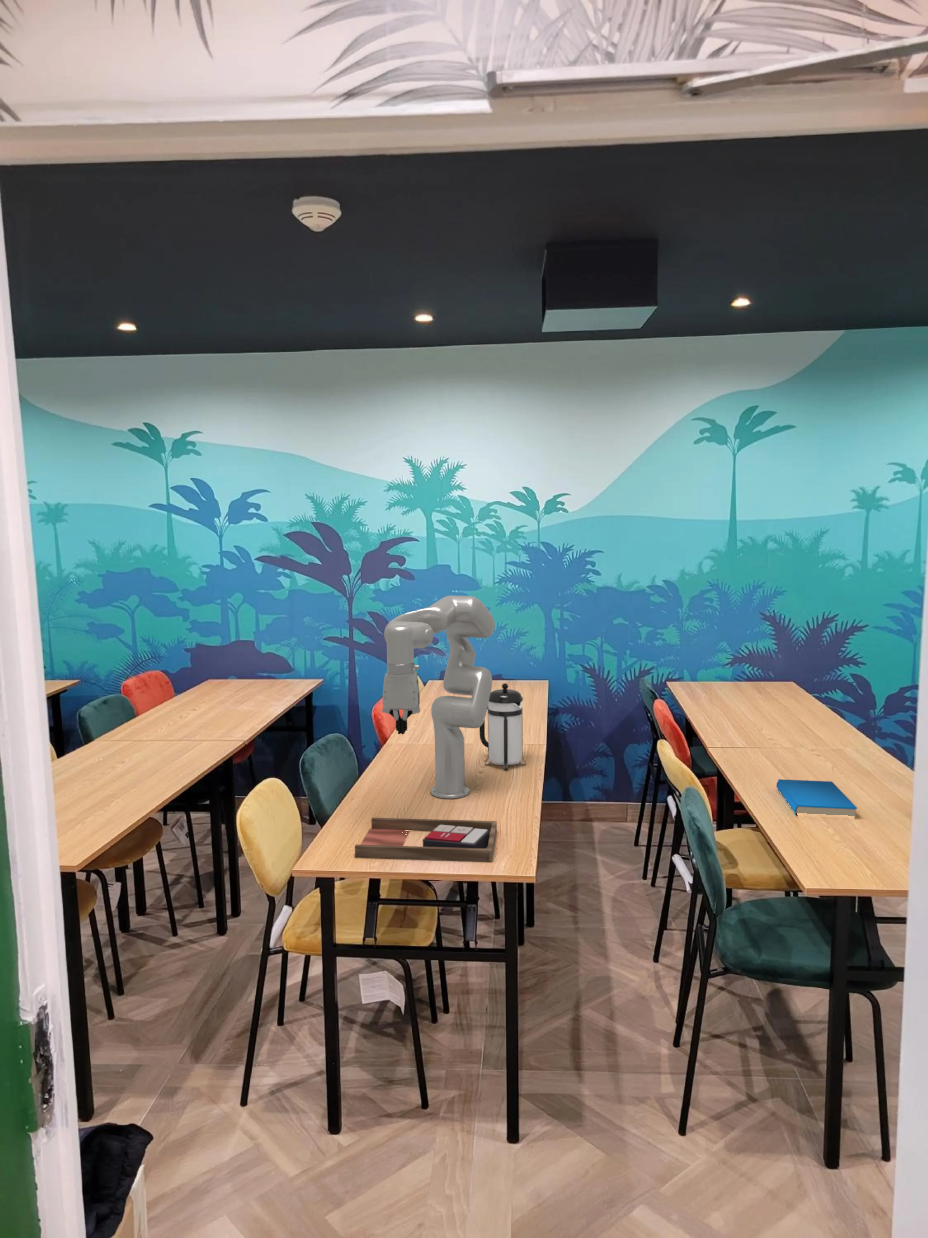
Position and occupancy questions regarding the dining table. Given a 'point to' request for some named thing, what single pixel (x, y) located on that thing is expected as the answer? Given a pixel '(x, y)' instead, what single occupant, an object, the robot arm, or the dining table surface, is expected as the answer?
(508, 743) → the coffee press
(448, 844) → the calculator
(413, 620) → the robot arm
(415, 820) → the brown wooden tray
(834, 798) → the book
